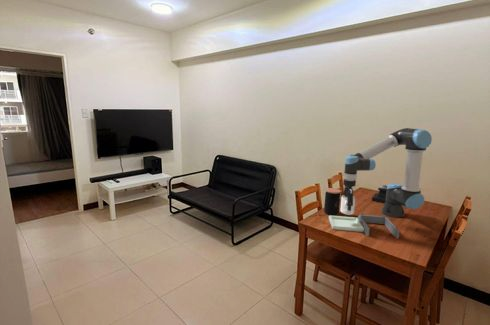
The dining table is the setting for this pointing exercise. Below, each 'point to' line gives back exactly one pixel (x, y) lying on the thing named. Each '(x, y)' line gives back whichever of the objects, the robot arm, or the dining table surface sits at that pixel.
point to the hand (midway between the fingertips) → (346, 211)
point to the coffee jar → (332, 201)
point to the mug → (344, 204)
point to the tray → (346, 223)
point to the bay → (379, 220)
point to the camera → (380, 194)
